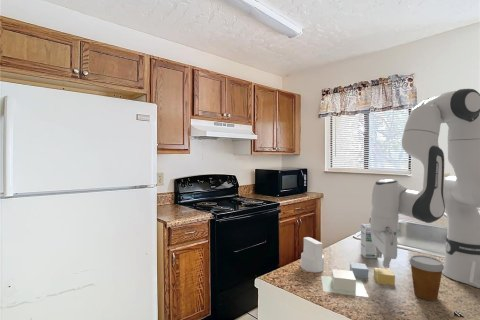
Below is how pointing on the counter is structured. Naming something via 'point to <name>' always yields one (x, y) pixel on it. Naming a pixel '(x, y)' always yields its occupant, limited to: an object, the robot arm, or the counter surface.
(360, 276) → the slate brick
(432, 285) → the disposable coffee cup
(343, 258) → the counter surface
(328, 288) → the plate
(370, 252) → the syrup box
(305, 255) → the cylinder with rectangular tab
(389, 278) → the mustard brick
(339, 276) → the base brick
